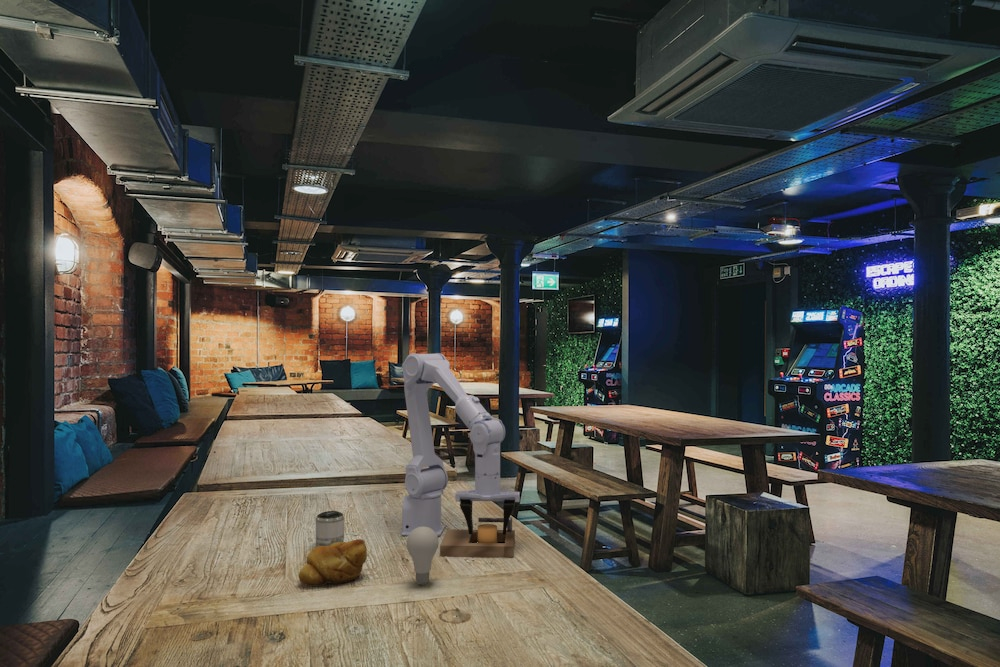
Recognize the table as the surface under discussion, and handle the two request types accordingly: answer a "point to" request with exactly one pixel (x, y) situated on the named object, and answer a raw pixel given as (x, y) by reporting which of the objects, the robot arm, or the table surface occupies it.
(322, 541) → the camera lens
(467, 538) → the brown square frame
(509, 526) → the hook
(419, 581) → the lightbulb
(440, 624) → the table surface
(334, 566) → the bread roll
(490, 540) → the orange rounded capsule
